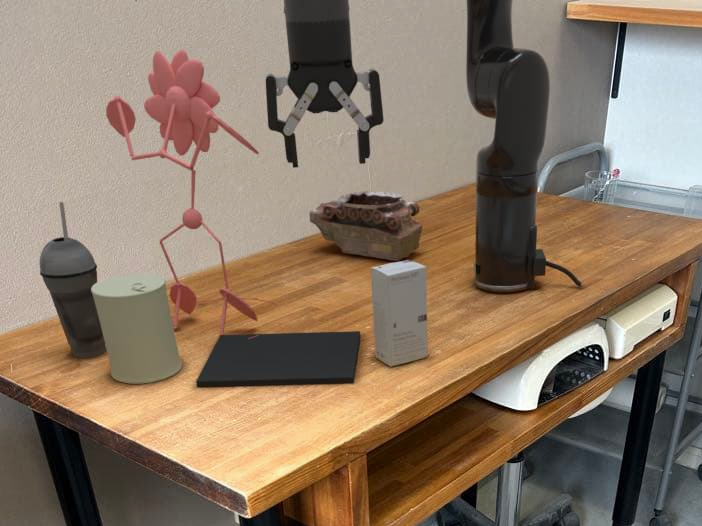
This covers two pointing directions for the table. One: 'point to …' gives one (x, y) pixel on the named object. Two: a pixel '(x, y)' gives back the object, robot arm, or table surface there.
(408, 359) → the cosmetic box
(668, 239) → the table surface
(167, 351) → the can
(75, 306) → the beverage cup
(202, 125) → the figurine
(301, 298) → the table surface
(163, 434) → the table surface
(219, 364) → the mat
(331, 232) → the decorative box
